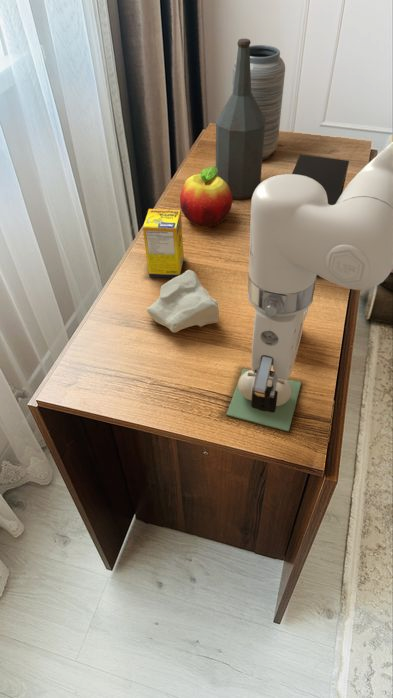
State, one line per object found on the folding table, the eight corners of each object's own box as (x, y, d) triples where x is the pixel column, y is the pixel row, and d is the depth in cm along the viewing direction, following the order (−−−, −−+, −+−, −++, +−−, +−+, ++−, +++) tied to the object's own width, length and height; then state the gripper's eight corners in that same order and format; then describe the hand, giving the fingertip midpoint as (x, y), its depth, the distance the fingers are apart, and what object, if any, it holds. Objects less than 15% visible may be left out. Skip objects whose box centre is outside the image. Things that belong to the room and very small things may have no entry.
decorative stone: (136, 312, 84) (158, 257, 81) (173, 317, 91) (194, 266, 88) (178, 342, 77) (203, 283, 75) (214, 345, 84) (238, 291, 82)
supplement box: (183, 259, 96) (181, 208, 88) (180, 278, 92) (177, 228, 84) (153, 257, 97) (148, 207, 89) (148, 277, 93) (142, 226, 85)
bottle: (247, 174, 118) (255, 28, 96) (268, 193, 112) (282, 42, 90) (208, 184, 115) (207, 36, 93) (227, 204, 109) (231, 51, 87)
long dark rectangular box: (339, 204, 108) (349, 160, 101) (320, 276, 92) (329, 230, 84) (294, 197, 110) (300, 154, 103) (266, 266, 94) (271, 220, 87)
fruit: (172, 227, 104) (169, 182, 96) (194, 201, 110) (192, 158, 103) (219, 238, 100) (220, 193, 93) (239, 211, 107) (241, 167, 100)
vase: (274, 165, 121) (284, 61, 104) (227, 162, 122) (229, 58, 105) (278, 144, 128) (288, 43, 111) (234, 141, 130) (237, 41, 113)
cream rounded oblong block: (292, 392, 73) (296, 372, 70) (285, 415, 70) (289, 396, 67) (242, 380, 75) (243, 360, 72) (234, 402, 72) (235, 382, 69)
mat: (301, 383, 75) (301, 382, 74) (288, 431, 69) (288, 430, 69) (243, 369, 77) (243, 368, 76) (226, 415, 71) (226, 414, 71)
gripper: (299, 344, 50) (285, 438, 63) (326, 248, 62) (310, 344, 74) (228, 330, 52) (228, 424, 65) (266, 239, 63) (260, 334, 76)
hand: (271, 381), depth 69 cm, fingers open, 9 cm apart
